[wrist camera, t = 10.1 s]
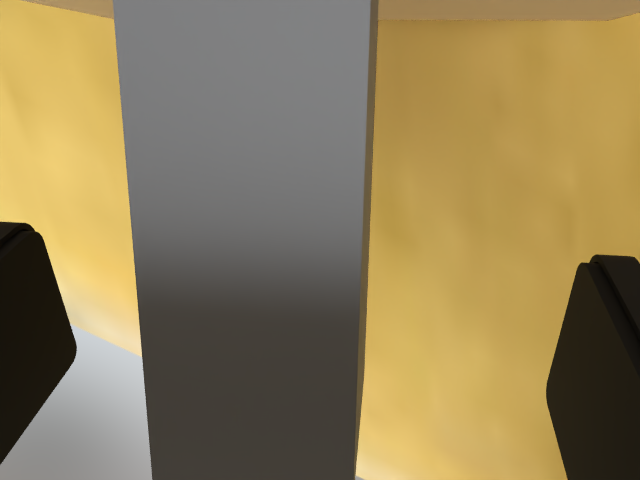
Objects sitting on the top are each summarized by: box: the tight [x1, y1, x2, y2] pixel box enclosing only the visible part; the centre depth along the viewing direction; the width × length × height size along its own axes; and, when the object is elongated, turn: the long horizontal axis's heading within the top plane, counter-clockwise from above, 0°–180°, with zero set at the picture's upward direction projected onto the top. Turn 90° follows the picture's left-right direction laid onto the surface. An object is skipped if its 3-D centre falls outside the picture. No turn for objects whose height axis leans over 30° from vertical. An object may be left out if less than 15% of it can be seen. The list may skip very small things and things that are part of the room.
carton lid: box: [22, 0, 640, 480], centre depth 16 cm, size 18×20×9 cm
